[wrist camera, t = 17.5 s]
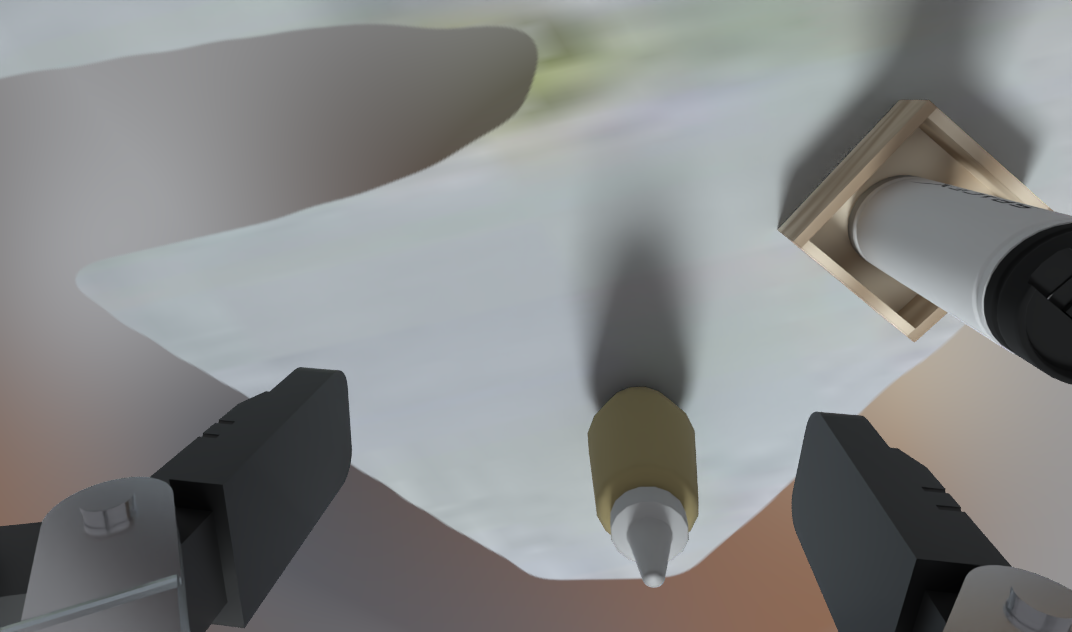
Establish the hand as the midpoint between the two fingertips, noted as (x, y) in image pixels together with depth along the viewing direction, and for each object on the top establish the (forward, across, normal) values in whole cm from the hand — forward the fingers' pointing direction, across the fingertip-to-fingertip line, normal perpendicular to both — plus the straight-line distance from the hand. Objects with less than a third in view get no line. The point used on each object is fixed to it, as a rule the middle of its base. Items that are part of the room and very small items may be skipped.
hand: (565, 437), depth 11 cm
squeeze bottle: (+36, -5, +19) cm, 41 cm away
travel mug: (+35, -20, +2) cm, 41 cm away
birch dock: (+36, -21, +2) cm, 42 cm away
